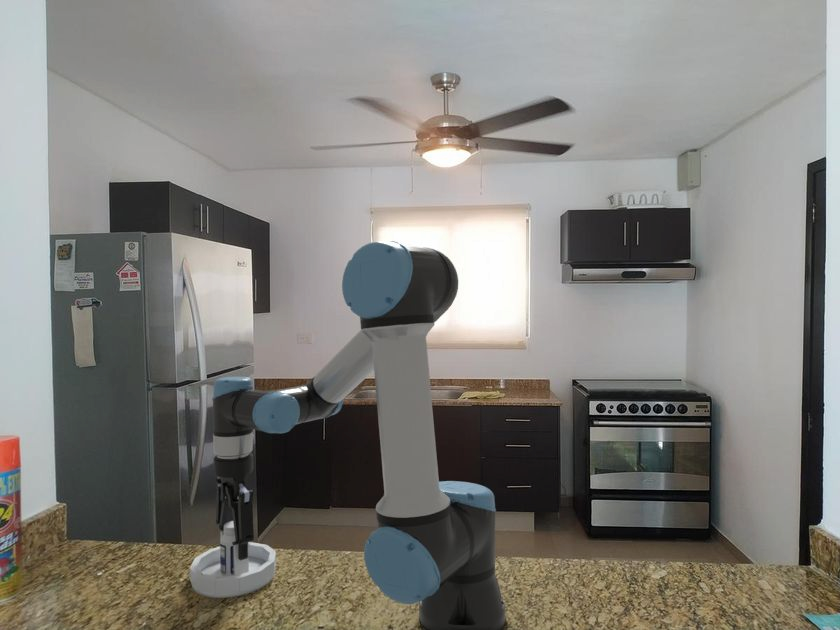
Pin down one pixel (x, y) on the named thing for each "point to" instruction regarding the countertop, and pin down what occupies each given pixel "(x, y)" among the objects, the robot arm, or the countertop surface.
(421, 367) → the robot arm
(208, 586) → the dish
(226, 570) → the pill bottle
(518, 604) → the countertop surface
